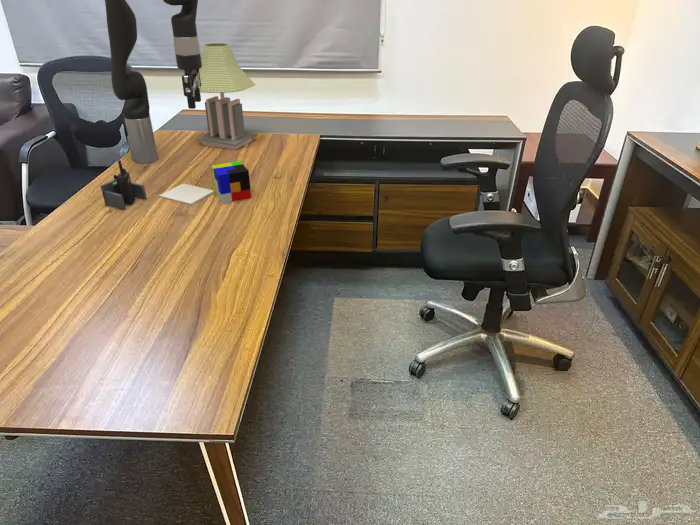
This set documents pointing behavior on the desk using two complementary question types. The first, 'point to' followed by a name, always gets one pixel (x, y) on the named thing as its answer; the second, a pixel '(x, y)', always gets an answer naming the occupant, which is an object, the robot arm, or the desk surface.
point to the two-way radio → (125, 185)
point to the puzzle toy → (231, 182)
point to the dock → (114, 196)
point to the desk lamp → (222, 113)
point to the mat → (186, 194)
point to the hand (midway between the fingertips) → (195, 105)
